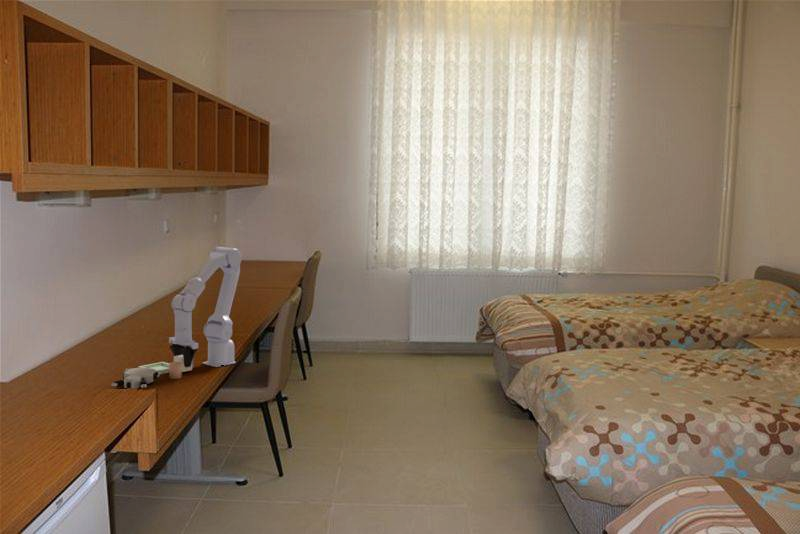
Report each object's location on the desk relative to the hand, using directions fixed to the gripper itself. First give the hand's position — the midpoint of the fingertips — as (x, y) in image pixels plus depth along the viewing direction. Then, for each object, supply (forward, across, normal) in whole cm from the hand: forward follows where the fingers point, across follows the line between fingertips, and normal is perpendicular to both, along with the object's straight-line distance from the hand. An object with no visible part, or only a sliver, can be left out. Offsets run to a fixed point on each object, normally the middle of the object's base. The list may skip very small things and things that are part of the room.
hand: (183, 365), depth 253 cm
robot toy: (+3, +4, -21) cm, 22 cm away
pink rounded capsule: (+2, +4, -6) cm, 8 cm away
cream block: (+2, 0, 0) cm, 2 cm away
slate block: (+2, -4, +4) cm, 6 cm away
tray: (+2, -8, -5) cm, 10 cm away
